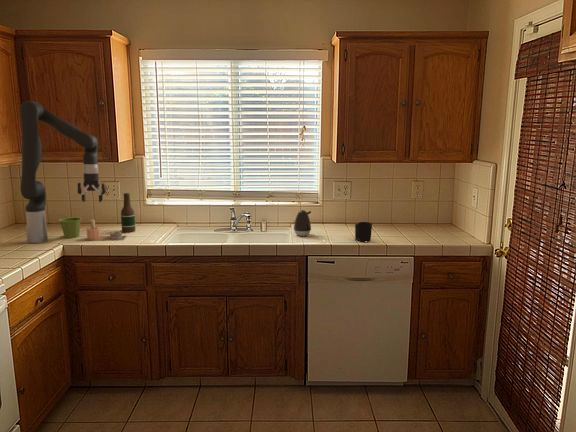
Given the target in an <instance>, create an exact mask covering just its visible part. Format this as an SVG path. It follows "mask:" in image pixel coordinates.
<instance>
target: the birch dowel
mask: <svg viewBox="0 0 576 432" xmlns="http://www.w3.org/2000/svg"><path fill="white" fill-rule="evenodd" d="M89 224H90V227H91V229H95V227H96V220H95V219H90V222H89Z"/></svg>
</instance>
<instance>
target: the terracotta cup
mask: <svg viewBox="0 0 576 432" xmlns="http://www.w3.org/2000/svg"><path fill="white" fill-rule="evenodd" d="M100 236H101V231H100V227H98V226H95V229H91V226H90V227H87V228H86V239H88V240H97V239H100Z"/></svg>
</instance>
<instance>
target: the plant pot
mask: <svg viewBox="0 0 576 432" xmlns="http://www.w3.org/2000/svg"><path fill="white" fill-rule="evenodd" d="M82 218H83V217H79V216H78V217H75V216H73V217H72V216H71V217H64V218H61V219H58V222H59V223H60V226H61V229H62V232H63V236H64V239H77V238H79V237H80V231H81V222H82Z"/></svg>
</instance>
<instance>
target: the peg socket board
mask: <svg viewBox="0 0 576 432" xmlns="http://www.w3.org/2000/svg"><path fill="white" fill-rule="evenodd" d="M122 233H123V232H122V231H113V232H110V235H102V236H101V235H100V239H97V240H88V239H87V238H85V239H83V242H107V241H110V242H111V241H124V240H125V239H126V238H127V237H128V235H123V234H122Z"/></svg>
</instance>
